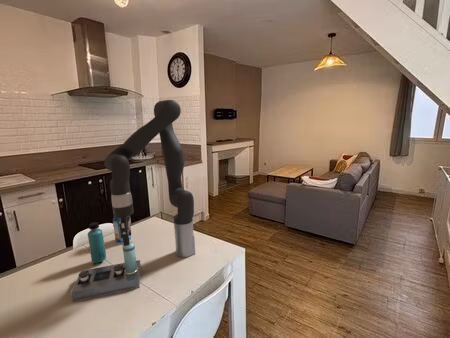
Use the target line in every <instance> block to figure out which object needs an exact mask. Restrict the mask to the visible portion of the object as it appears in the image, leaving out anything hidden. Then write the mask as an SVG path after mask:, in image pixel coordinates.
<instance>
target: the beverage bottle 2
mask: <svg viewBox="0 0 450 338" xmlns="http://www.w3.org/2000/svg"><path fill="white" fill-rule="evenodd" d="M112 214H113V218H112V227H113V231H114V238H115V243H116V244H119V245H123V238H121V233H120V226H119V221H120V218H117V217H115V216H114V213H113V212H112ZM123 234H125V232H123ZM131 237H132V235H131V236H129V241H131V240H132V238H131Z"/></svg>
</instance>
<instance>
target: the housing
mask: <svg viewBox="0 0 450 338" xmlns="http://www.w3.org/2000/svg"><path fill="white" fill-rule="evenodd" d="M136 263H137V270H136V271H135V272H133V273H126V271H125V262H122V263H121V262H120V263H117V264H111V265H106V266H100V267H95V268H88V269H84V270H81V271H80V272H82V271H89V275H88V277H89V282H88V283H85V284H81V280H80V278H79V275H77V279H75V280H76V281H75V283H74V285H73V287H72V289H71V291H70V295H71V299H72V300H71V302H76V301H83V300H87V299H90V298H96V297H100V296H105V295H110V294H115V293H120V292H125V291H128V290H133V289H138V288H139V289H140V286H141V285H140V283H141V271H142V270H141V269H142V268H141V259H139V260H137V259H136ZM119 264H122V265H123V276H120V277H116V273H115V271H114V267H115V266H116V265H119Z"/></svg>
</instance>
